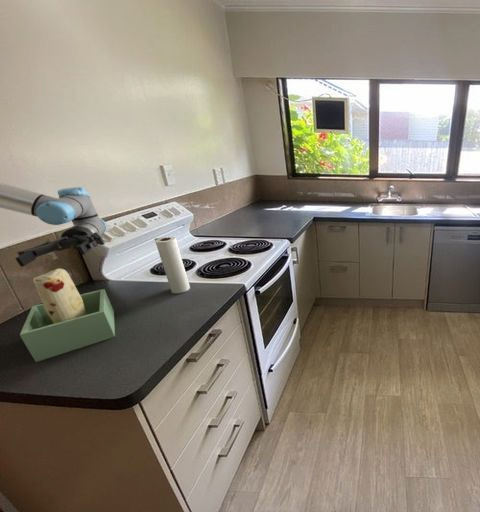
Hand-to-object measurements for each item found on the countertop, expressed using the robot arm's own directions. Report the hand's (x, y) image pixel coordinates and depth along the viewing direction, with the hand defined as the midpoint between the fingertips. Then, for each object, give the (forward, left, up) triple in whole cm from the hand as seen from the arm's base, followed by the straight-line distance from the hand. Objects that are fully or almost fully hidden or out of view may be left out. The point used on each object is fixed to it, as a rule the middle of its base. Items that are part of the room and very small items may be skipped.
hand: (51, 256), depth 85 cm
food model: (+9, 0, -22) cm, 24 cm away
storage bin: (+9, 0, -23) cm, 25 cm away
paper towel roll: (-3, +28, -23) cm, 36 cm away
